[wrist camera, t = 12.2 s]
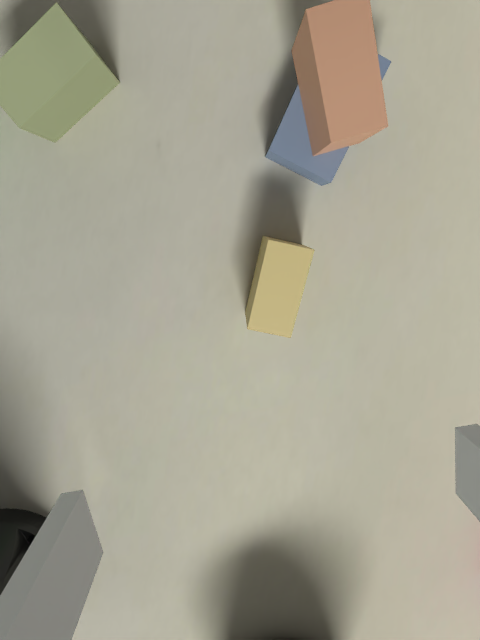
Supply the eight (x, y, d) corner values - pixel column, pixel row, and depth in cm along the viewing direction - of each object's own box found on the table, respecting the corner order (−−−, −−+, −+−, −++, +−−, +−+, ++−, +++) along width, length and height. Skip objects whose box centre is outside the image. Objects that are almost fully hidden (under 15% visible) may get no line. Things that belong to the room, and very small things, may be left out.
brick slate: (320, 186, 36) (331, 182, 32) (264, 157, 35) (268, 150, 31) (373, 79, 33) (391, 61, 29) (314, 46, 32) (325, 23, 29)
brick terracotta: (359, 143, 31) (388, 126, 25) (312, 156, 31) (330, 142, 25) (341, 35, 29) (368, -11, 23) (291, 50, 29) (306, 8, 23)
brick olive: (55, 142, 34) (19, 127, 28) (23, 104, 33) (-22, 80, 27) (120, 83, 33) (96, 54, 27) (88, 41, 32) (56, 2, 26)
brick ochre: (282, 319, 39) (290, 338, 33) (245, 312, 39) (247, 329, 33) (301, 244, 37) (314, 249, 31) (262, 235, 36) (268, 239, 31)
